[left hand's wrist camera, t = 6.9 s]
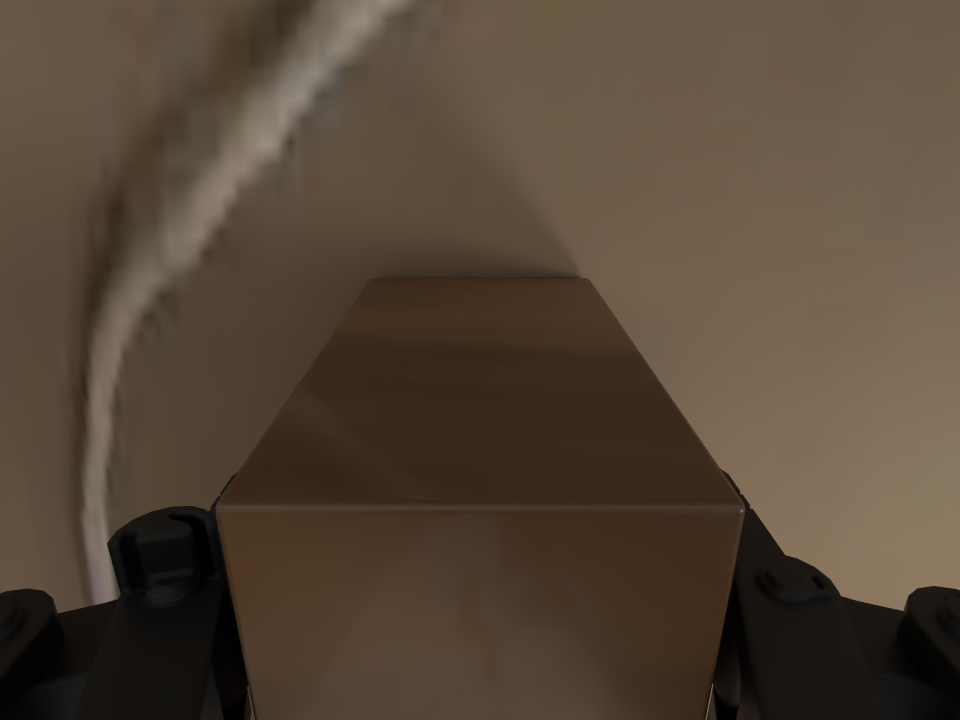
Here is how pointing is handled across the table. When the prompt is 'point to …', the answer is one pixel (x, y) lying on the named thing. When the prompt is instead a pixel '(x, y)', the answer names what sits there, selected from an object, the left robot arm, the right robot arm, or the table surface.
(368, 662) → the bar
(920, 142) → the table surface
